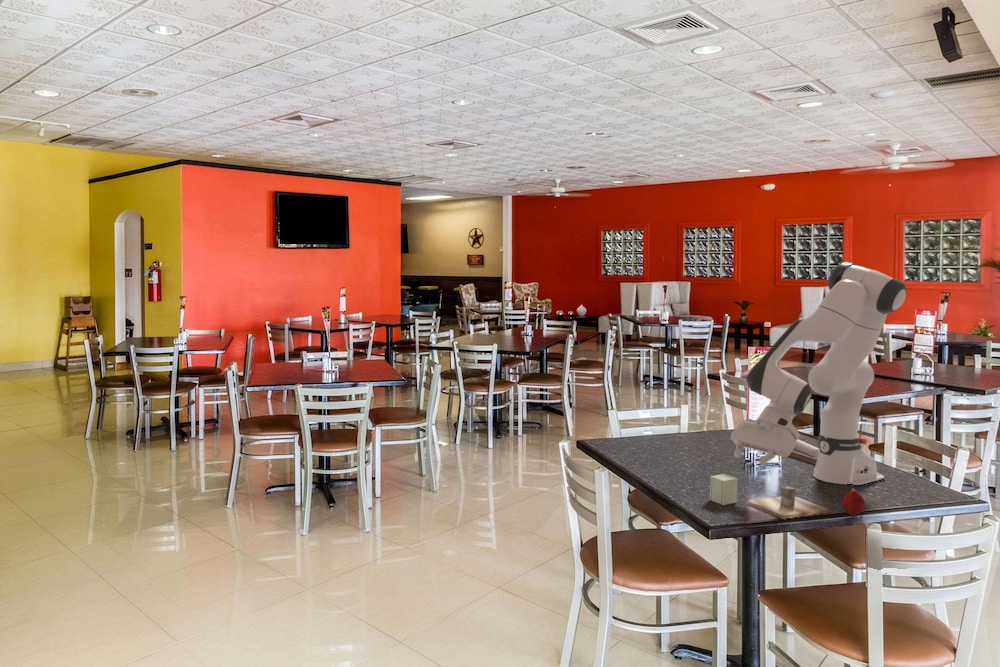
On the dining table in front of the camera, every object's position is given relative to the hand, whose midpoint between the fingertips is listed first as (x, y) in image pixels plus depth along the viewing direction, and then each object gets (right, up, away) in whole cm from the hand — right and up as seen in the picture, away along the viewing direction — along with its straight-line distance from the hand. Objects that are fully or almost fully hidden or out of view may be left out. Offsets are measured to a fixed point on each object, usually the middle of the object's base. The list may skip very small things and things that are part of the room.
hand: (748, 459), depth 221 cm
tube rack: (+36, -7, +54) cm, 65 cm away
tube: (+37, -7, +54) cm, 66 cm away
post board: (+8, -13, -8) cm, 17 cm away
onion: (+24, -13, -15) cm, 31 cm away
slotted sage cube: (-8, -12, -2) cm, 15 cm away
